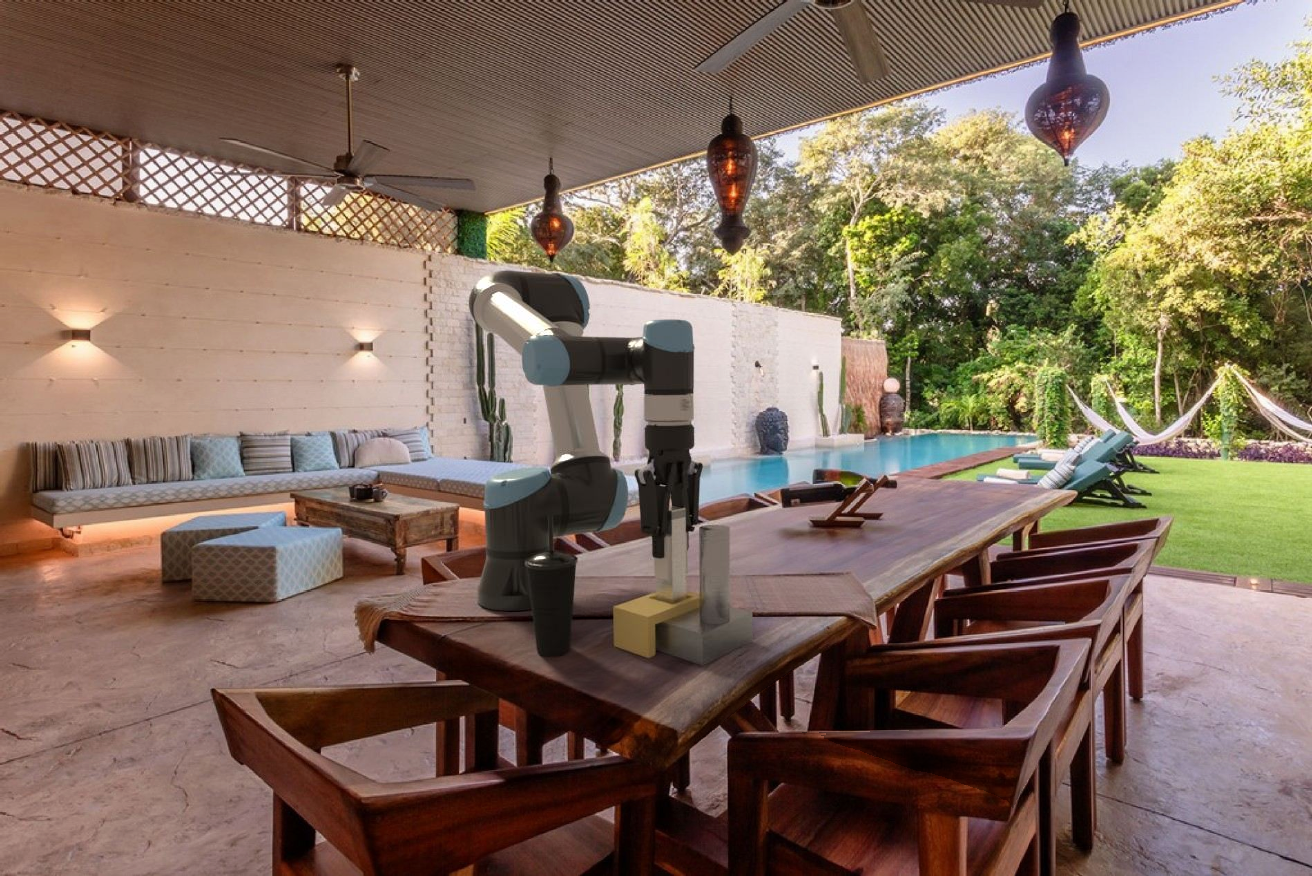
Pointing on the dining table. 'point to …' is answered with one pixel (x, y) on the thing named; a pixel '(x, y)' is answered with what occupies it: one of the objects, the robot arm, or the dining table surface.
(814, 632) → the dining table surface
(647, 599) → the bracket
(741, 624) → the gray post on base
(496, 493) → the robot arm
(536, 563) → the drinking cup
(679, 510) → the pin
